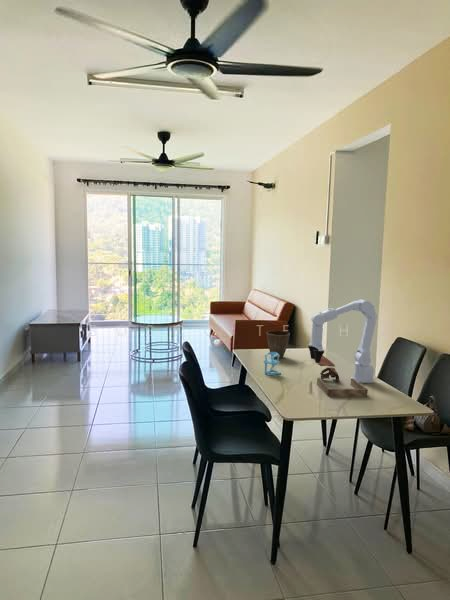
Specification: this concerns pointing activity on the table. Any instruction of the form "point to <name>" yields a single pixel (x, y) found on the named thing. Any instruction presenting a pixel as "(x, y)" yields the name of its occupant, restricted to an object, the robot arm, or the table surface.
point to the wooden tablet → (325, 362)
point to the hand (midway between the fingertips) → (315, 360)
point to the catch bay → (344, 390)
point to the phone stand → (272, 362)
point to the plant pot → (278, 342)
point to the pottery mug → (331, 372)
